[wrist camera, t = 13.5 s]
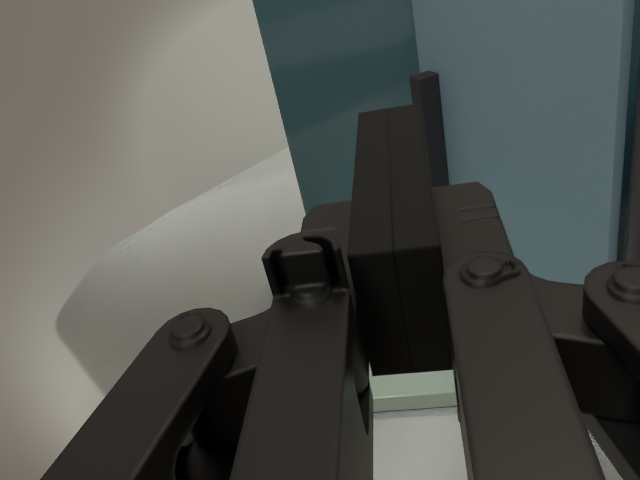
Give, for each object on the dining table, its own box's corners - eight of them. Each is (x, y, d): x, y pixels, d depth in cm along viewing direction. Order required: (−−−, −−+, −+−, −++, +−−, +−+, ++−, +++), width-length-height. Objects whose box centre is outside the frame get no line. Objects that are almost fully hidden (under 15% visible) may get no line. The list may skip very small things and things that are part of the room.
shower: (286, 419, 29) (155, 35, 19) (315, 247, 43) (246, -31, 33) (674, 390, 26) (749, -87, 16) (573, 214, 39) (581, -105, 30)
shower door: (423, 250, 37) (388, -15, 29) (447, 240, 37) (418, -24, 29) (580, 370, 26) (593, 1, 18) (610, 353, 27) (637, -14, 19)
